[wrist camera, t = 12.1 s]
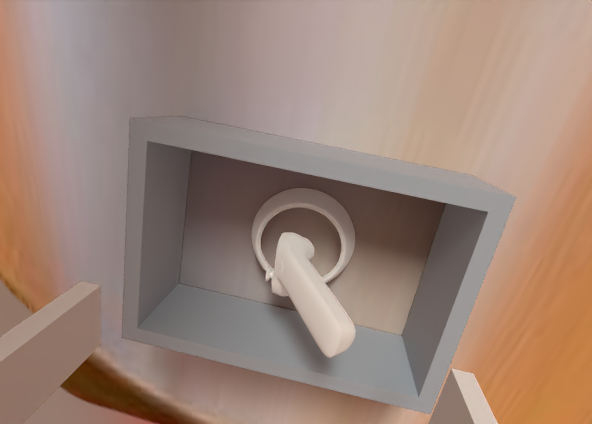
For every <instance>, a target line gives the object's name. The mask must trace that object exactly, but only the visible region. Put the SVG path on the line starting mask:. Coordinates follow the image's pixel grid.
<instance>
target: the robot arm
mask: <svg viewBox="0 0 592 424" xmlns="http://www.w3.org/2000/svg"><path fill="white" fill-rule="evenodd" d="M99 346H100V285H96V284H91V283H87V282H83V281H80V282H79V283H78V284H76V285H75V286H73V287H72V288H70V289H69V290H67V291H66V292H65V293H63V294H62V295H60V296H59V297H57V298H56V299H54V300H53V301H51V302H50V303H49V304H47V305H46V306H44V307H43V308H41V309H40V310H38V311H37V312H36V313H34V314H33V315H31V316H30V317H28V318H27V319H26V320H24V321H22V322H21V323H20V324H18V325H17V326H15V327H14V328H12V329H11V330H9V331H8V332H7V333H5V334H4V335H2V336H1V337H0V424H23V423H24V422H25V421H26V420H27V419H28V417H30V416H31V414H32V413H33V412H35V411H36V410H37V409H38V408H39V406H40V405H41V404H42V403H43V402H44V401H45V400H46V399H47V398H48V397H49V396H50V395H51V394H52V393H53V392H54V391H55V390H56V389H57V388H58V387H59V386H60V385H61V384H62V383H63V382H64V381H65V380H66V379H67V378H68V377H69V376H70V375H71V374H72V373H73V372H74V371H75V370H76V369H77V368H78V367H79V366H80V365H81V364H82V363H83V362H84V361H85V360H86V359H87V358H88V357H89V356H90V355H91V354H92V353H93V352H94V351H95V350H96V349H97V348H98V347H99ZM429 424H498V423H497V421H496V419H495V417H494V415H493V413H492V411H491V409H490V407H489V405H488V403H487V401H486V399H485V397H484V395H483V392H482V390H481V388H480V386H479V384H478V382H477V380H476V378H475V376H474V374H473V373H469V372H464V371H460V370H456V369H452V368H451V371H450V373H449V375H448V378H447V380H446V383H445V385H444V387H443V390H442V392H441V395H440V397H439V399H438V402H437V404H436V407H435V409H434V412H433V414H432V416H431V419H430V421H429Z"/></svg>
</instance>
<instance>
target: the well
mask: <svg viewBox="0 0 592 424" xmlns="http://www.w3.org/2000/svg"><path fill="white" fill-rule="evenodd" d="M191 150H194V151H199V152H204V153H209V154H214V155H218V156H223V157H228V158H233V159H237V160H242V161H247V162H252V163H257V164H261V165H266V166H271V167H276V168H281V169H285V170H290V171H295V172H300V173H304V174H309V175H314V176H319V177H324V178H328V179H333V180H338V181H343V182H348V183H352V184H357V185H362V186H367V187H371V188H376V189H381V190H386V191H391V192H395V193H400V194H405V195H410V196H415V197H419V198H424V199H429V200H434V201H438V202H443V203H446V205H445V208H444V211H443V214H442V217H441V220H440V223H439V226H438V229H437V232H436V235H435V238H434V241H433V244H432V247H431V250H430V253H429V256H428V259H427V262H426V265H425V268H424V271H423V274H422V277H421V280H420V283H419V286H418V289H417V292H416V295H415V298H414V301H413V304H412V307H411V310H410V313H409V316H408V319H407V322H406V325H405V328H404V331H403V334H402V336H400V335H396V334H392V333H387V332H383V331H379V330H375V329H370V328H366V327H362V326H358V325H354V326H355V330H356V332H355V338H354V341H353V343H352V344H351V345H350V347H349V348H348V349H347V350H346V351H344V352H342V353H340V354H338V355H336V356H333V357H331V358H329V357H327V356H325V354H324V353H323V352H322V351H321V349H320V348H319V346H318V345H317V343H316V342H315V340H314V338H313V336H312V335H311V333H310V331H309V329H308V328H307V326H306V324H305V323H304V321H303V319H302V317H301V316H300V314H299V312H298V311H294V310H290V309H286V308H281V307H277V306H273V305H269V304H264V303H260V302H256V301H252V300H247V299H243V298H239V297H235V296H230V295H226V294H222V293H218V292H213V291H209V290H205V289H201V288H196V287H192V286H188V285H184V284H179V278H180V268H181V257H182V246H183V235H184V225H185V214H186V203H187V192H188V181H189V171H190V160H191ZM515 199H516V197H515V196H513V195H511V194H509V193H507V192H505V191H503V190H501V189H499V188H497V187H495V186H493V185H491V184H489V183H487V182H485V181H483V180H481V179H479V178H477V177H474V176H472V175H469V174H464V173H459V172H454V171H449V170H444V169H439V168H434V167H429V166H424V165H419V164H414V163H409V162H404V161H400V160H395V159H390V158H385V157H380V156H375V155H370V154H365V153H360V152H355V151H350V150H345V149H340V148H335V147H331V146H326V145H321V144H316V143H311V142H306V141H301V140H296V139H291V138H286V137H281V136H276V135H271V134H266V133H262V132H257V131H252V130H247V129H242V128H237V127H232V126H227V125H222V124H217V123H212V122H207V121H202V120H197V119H192V118H188V117H183V116H168V117H140V118H130V131H129V158H128V184H127V211H126V238H125V264H124V291H123V317H122V338H125V339H129V340H133V341H137V342H141V343H145V344H149V345H153V346H157V347H161V348H165V349H169V350H173V351H177V352H181V353H185V354H189V355H193V356H197V357H201V358H205V359H209V360H213V361H217V362H221V363H225V364H229V365H233V366H237V367H241V368H245V369H249V370H253V371H257V372H261V373H265V374H269V375H273V376H277V377H281V378H286V379H290V380H294V381H298V382H302V383H306V384H310V385H314V386H318V387H322V388H326V389H330V390H334V391H338V392H342V393H346V394H350V395H354V396H358V397H362V398H366V399H370V400H374V401H378V402H382V403H386V404H390V405H394V406H398V407H402V408H406V409H410V410H414V411H418V412H422V413H426V414H431V412H432V409H433V406H434V404H435V401H436V399H437V396H438V394H439V391H440V389H441V386H442V384H443V381H444V379H445V376H446V374H447V371H448V369H449V366H450V364H451V361H452V358H453V356H454V353H455V351H456V348H457V346H458V343H459V341H460V338H461V336H462V333H463V331H464V328H465V326H466V323H467V321H468V318H469V315H470V313H471V310H472V308H473V305H474V303H475V300H476V298H477V295H478V293H479V290H480V288H481V285H482V283H483V280H484V278H485V275H486V273H487V270H488V267H489V265H490V262H491V260H492V257H493V255H494V252H495V250H496V247H497V245H498V242H499V240H500V237H501V235H502V232H503V230H504V227H505V224H506V222H507V219H508V217H509V214H510V212H511V209H512V207H513V204H514V202H515Z"/></svg>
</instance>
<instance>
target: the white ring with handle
mask: <svg viewBox="0 0 592 424" xmlns="http://www.w3.org/2000/svg"><path fill="white" fill-rule="evenodd" d="M298 207H300V208H308V209H312V210H315V211H317V212H319V213H321V214H323V215H324V216H325V217H327V218H328V219H329V220H330V221H331V222H332V223H333V224H334V226H335V228H336V229H337V231H338V233H339V236H340V240H341V254H340V257H339V260H338V262H337V264H336V266H335V267H334V268H333V269H332V270H331V271H330V272H329V273H327V274H326V275H324V276H322V277H321V276H320V275H319V273H318V272H317V271H316V269H315V268H314V267H313V265H312V264H311V263H310V260H311V259H312V258H313V256H314V246H313V244H312V243H311V242H310V240H308V239H307V238H304V237H302V236H300V235H298V234H296V233H293V232H286V233H282V234H281V237H280V239H279V242H278V246H277V251H276V257H275V267H274V269H273V268H272V267H271V266H270V265H269V264H268V262H267V261H266V259H265V257H264V255H263V252H262V249H261V236H262V232H263V230H264V228H265V226H266V224H267V223H268V222H269V220H270V219H271V218H272V217H274V216H275V215H276V214H278V213H279V212H281V211H283V210H287V209H290V208H298ZM251 239H252V245H253V250H254V253H255V255H256V258H257V260H258V261H259V263H260V265H261V266H262V268H263V269H264V270H265V271H266V277H265V280H266V281H268V280H269V279H270V278H271V279H272V281H271V285H272V292H273V293H275V294H277V295H279V296H289V297H290V298H291V300H292V302H293V304H294V305H295V307H296V309H297V311H298V312H299V314H300V316H301V317H302V319H303V321H304V323H305V324H306V326H307V328H308V329H309V331H310V333H311V335H312V336H313V338H314V340H315V342H316V343H317V345H318V346H319V348H320V349H321V351H322V352H323V353H324V354H325V356H327V357H329V358H331V357H333V356H336V355H338V354H340V353H342V352H344V351H346V350H347V349H348V348H349V347H350V345H351V344H352V343H353V341H354V338H355V332H356V330H355V326H354V324H353V322H352V321H351V319H350V318H349V316H348V314H347V313H346V311H345V310H344V308H343V307H342V306H341V304H340V303H339V301H338V300H337V299H336V297H335V296H334V294H333V293H332V292H331V290H330V289H329V287H328V286H327V285H326V283H327V282H329V281H331V280H332V279H334V278H335V277H336V276H338V275H339V274H340V273H341V272H342V271H343V269H344V268H345V267H346V266H347V264H348V263H349V261H350V259H351V258H352V255H353V252H354V248H355V230H354V226H353V223H352V220H351V218H350V216H349V215H348V213H347V211H346V210H345V209H344V208H343V206H342V205H341V204H340V203H339V202H338V201H336V200H335V199H334V198H332V197H331V196H329V195H327V194H325V193H323V192H321V191H318V190H314V189H309V188H295V189H289V190H285V191H282V192H280V193H278V194H276V195H274V196H272V197H271V198H270V199H269V200H267V201H266V202H265V203H264V204H263V205H262V207H261V208H260V209H259V211H258V212H257V214H256V216H255V219H254V221H253V226H252V237H251Z"/></svg>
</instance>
